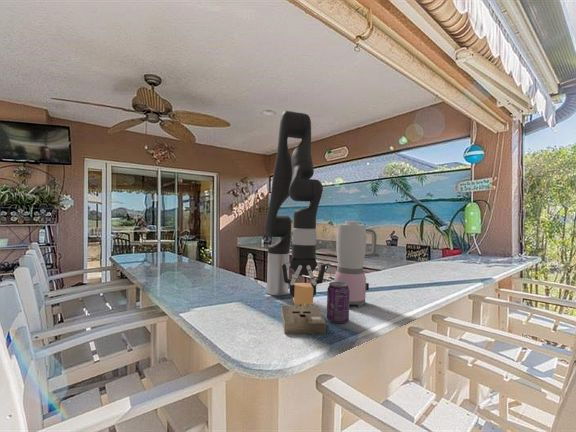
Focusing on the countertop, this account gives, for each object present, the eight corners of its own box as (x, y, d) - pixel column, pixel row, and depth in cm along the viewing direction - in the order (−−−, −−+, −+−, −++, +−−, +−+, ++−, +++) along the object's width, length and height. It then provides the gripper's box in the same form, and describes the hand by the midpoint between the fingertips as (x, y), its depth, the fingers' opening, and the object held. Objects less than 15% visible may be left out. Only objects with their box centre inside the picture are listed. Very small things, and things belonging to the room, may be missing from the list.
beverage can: (333, 315, 102) (334, 280, 102) (352, 320, 98) (353, 283, 98) (322, 320, 97) (323, 283, 97) (341, 326, 92) (343, 287, 92)
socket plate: (281, 314, 101) (281, 303, 101) (316, 314, 102) (316, 304, 102) (284, 333, 86) (284, 321, 85) (325, 333, 86) (326, 321, 86)
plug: (292, 306, 97) (293, 282, 97) (309, 306, 97) (310, 283, 97) (294, 312, 91) (295, 287, 91) (312, 312, 91) (313, 287, 91)
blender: (332, 306, 112) (334, 220, 112) (333, 297, 124) (336, 220, 124) (375, 309, 109) (378, 222, 109) (373, 300, 121) (375, 221, 121)
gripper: (324, 242, 98) (322, 293, 98) (280, 241, 97) (279, 293, 97) (329, 244, 91) (327, 300, 91) (282, 243, 89) (280, 300, 90)
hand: (302, 296), depth 94 cm, fingers closed on plug, 5 cm apart
